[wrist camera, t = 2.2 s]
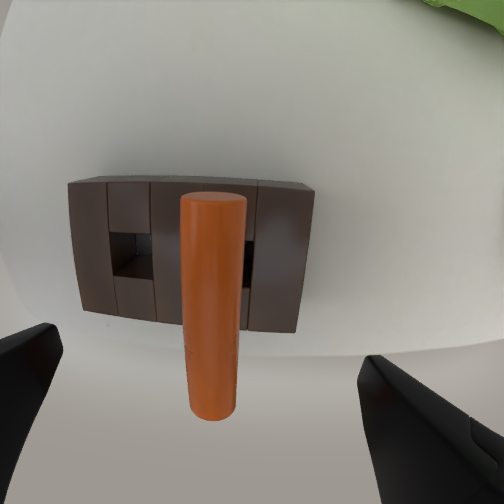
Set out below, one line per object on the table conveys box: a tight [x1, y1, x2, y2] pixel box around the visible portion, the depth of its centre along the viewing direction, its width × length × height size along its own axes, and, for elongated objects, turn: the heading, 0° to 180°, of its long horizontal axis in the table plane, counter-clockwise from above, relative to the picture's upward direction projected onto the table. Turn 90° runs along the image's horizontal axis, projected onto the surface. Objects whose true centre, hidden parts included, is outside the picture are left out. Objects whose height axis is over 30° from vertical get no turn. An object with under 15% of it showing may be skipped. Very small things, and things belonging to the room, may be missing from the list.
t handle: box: [180, 192, 247, 421], centre depth 13 cm, size 2×8×10 cm, turn 176°
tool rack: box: [68, 176, 315, 333], centre depth 16 cm, size 13×8×4 cm, turn 86°
